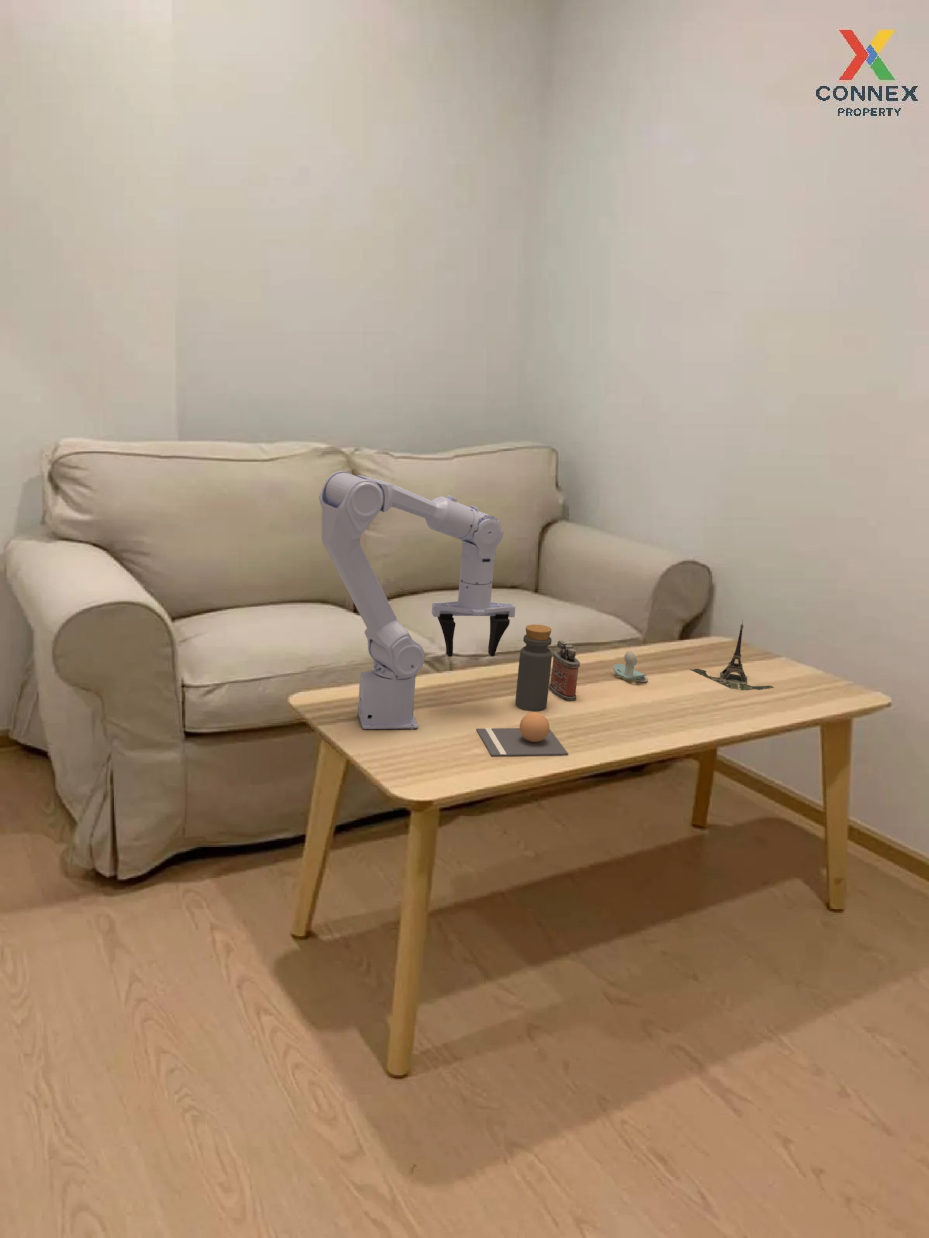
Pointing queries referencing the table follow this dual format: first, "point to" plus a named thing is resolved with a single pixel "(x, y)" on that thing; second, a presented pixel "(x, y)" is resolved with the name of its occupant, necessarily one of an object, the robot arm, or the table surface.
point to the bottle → (534, 669)
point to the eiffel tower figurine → (732, 679)
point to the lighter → (564, 672)
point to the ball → (534, 727)
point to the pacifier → (629, 669)
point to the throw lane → (518, 743)
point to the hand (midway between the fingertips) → (470, 654)
